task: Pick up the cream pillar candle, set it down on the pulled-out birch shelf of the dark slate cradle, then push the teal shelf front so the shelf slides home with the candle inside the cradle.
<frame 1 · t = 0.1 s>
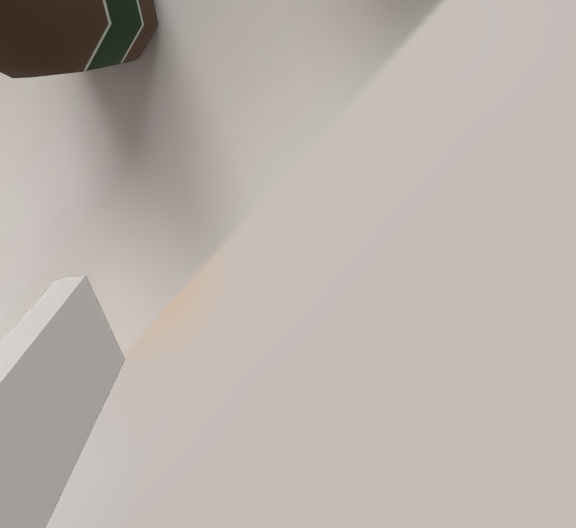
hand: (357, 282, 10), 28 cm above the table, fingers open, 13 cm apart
beer bottle: (109, 7, 31), on the table
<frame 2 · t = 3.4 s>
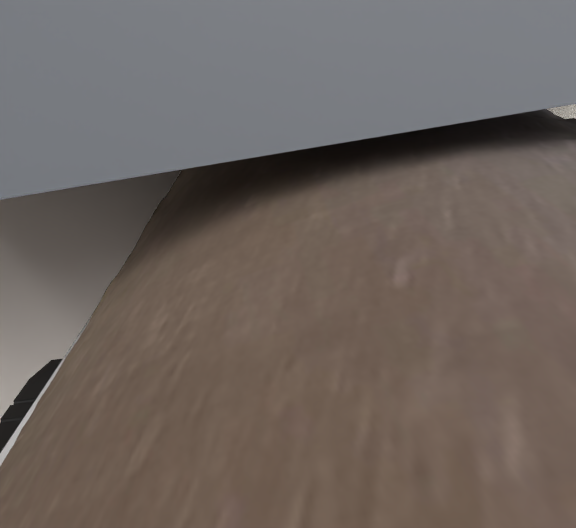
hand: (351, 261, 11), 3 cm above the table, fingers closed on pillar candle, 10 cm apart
pillar candle: (341, 218, 14), on the table, touching gripper
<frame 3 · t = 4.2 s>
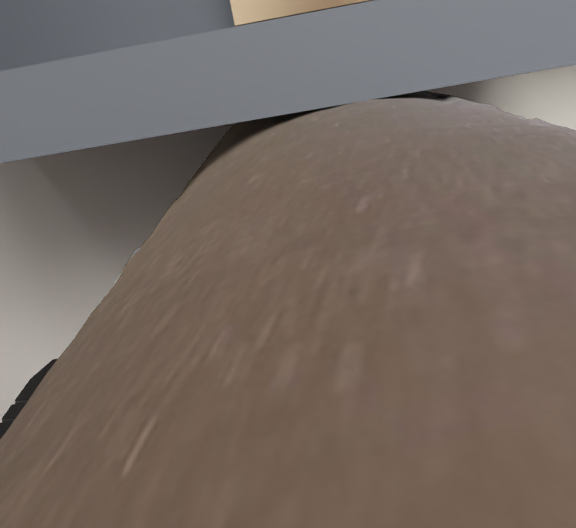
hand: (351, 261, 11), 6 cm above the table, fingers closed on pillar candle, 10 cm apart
pillar candle: (344, 229, 14), point 3 cm above the table, touching gripper
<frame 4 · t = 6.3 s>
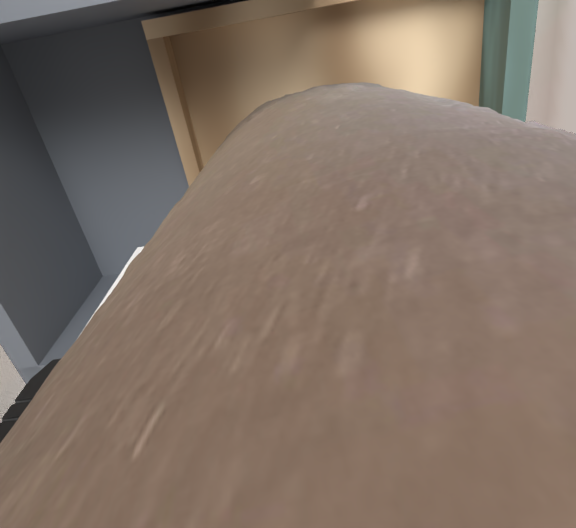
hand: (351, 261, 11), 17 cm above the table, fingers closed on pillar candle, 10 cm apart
pillar candle: (344, 232, 14), point 13 cm above the table, touching gripper
cradle: (184, 151, 26), on the table
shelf: (341, 134, 23), point 3 cm above the table, slide at 8.0 cm
when the fingers open (6 cm above the table, at t = 8.3 s): pillar candle stays where it is, resting on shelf.
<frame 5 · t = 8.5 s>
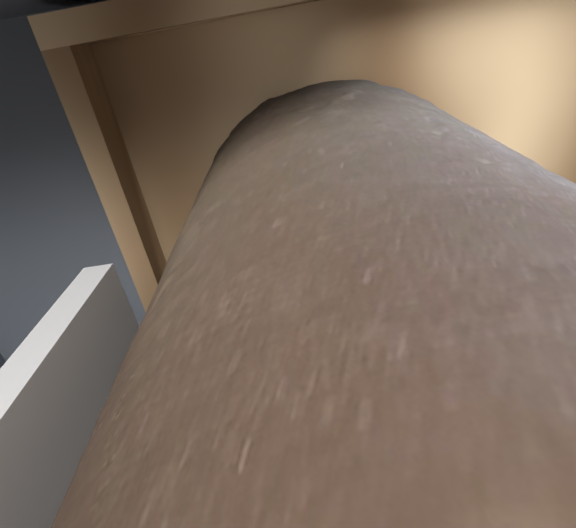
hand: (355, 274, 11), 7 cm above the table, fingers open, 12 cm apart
pillar candle: (341, 219, 15), point 2 cm above the table, touching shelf
cradle: (134, 218, 17), on the table
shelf: (383, 204, 14), point 3 cm above the table, slide at 8.1 cm, touching pillar candle
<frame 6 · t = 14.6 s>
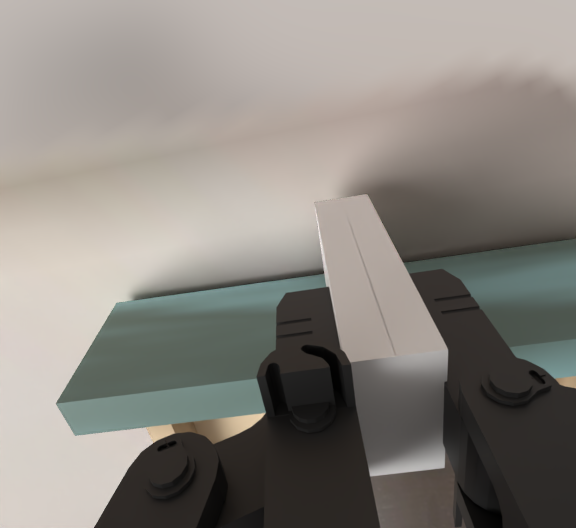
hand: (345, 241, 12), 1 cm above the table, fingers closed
pillar candle: (392, 496, 18), point 2 cm above the table, touching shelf
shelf: (378, 497, 16), point 3 cm above the table, slide at 7.1 cm, touching gripper, pillar candle
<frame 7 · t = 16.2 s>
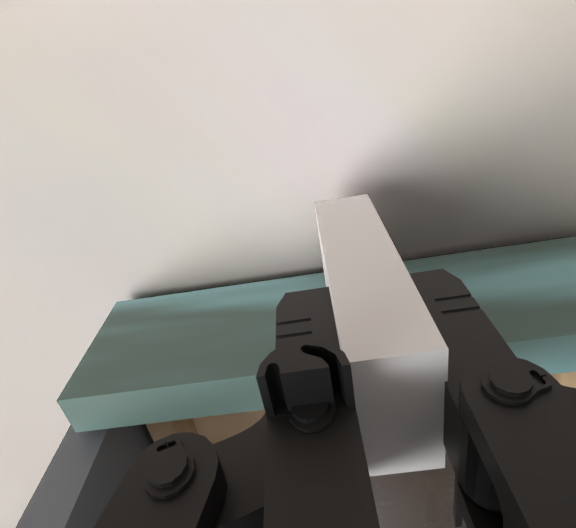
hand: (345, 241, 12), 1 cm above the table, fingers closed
pillar candle: (391, 494, 18), point 2 cm above the table, touching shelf
cradle: (368, 459, 19), on the table
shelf: (377, 494, 16), point 3 cm above the table, slide at 0.0 cm, touching gripper, pillar candle
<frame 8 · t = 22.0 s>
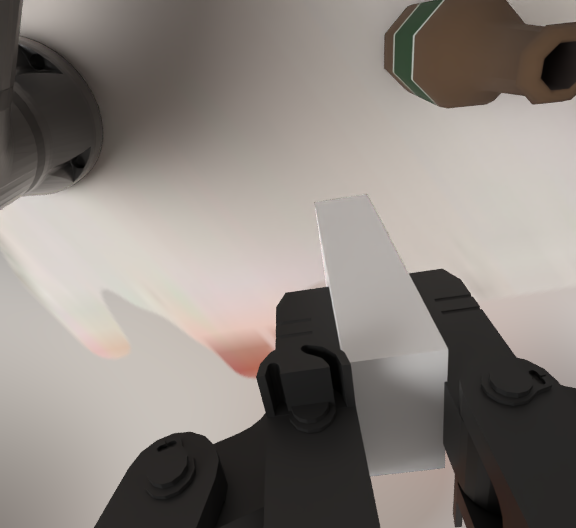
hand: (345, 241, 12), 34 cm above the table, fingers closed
beer bottle: (419, 47, 41), on the table
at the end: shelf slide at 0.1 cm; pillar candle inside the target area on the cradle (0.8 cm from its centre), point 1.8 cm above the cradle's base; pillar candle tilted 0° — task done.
